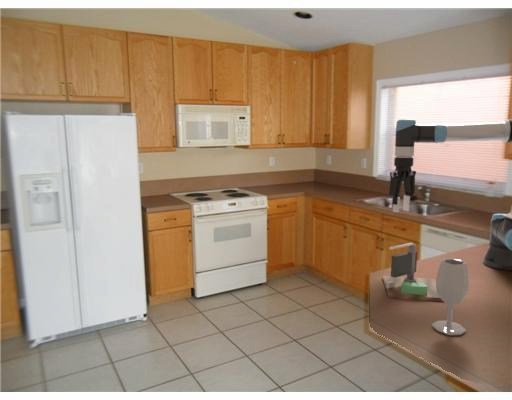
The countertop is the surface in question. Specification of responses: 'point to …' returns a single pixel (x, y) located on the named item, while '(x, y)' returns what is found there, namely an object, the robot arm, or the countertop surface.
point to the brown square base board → (396, 293)
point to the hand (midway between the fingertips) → (401, 211)
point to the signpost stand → (404, 263)
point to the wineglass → (451, 292)
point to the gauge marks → (410, 287)
